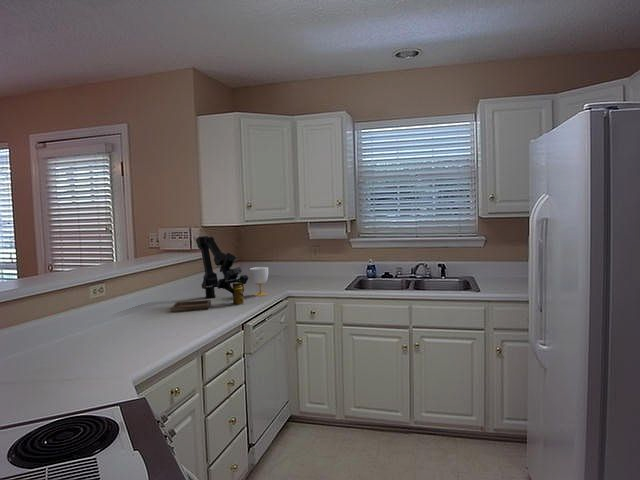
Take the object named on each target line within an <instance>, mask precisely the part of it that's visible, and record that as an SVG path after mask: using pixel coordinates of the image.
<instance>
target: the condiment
mask: <svg viewBox="0 0 640 480" xmlns="http://www.w3.org/2000/svg"><path fill="white" fill-rule="evenodd" d="M232 289H233V291H234V294H232V302H229V303H228V305H229V306H233V307H234V306H238V305H246V302H245V300H244V292H243V288H242V283H238V282H237V283H232Z"/></svg>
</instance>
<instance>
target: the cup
mask: <svg viewBox="0 0 640 480" xmlns="http://www.w3.org/2000/svg"><path fill="white" fill-rule="evenodd" d="M249 272H250V273H249V274H250V279H251V281H252V282H253V284H255V285H258V286H259V293H254V294H253V296H255V297H264V296H267V294H268V292H262V285H263V284H265V283H266V282H267V281H268V278H269V267H268V266H257V267H256V266H255V267H252V268H251V267H250V268H249Z"/></svg>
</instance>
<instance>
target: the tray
mask: <svg viewBox="0 0 640 480" xmlns="http://www.w3.org/2000/svg"><path fill="white" fill-rule="evenodd" d="M211 305H212V300H211V299H204V300H193V301H192V300H191V301H180V302H176V303H174V304H173V305H172V306H170V313H171V312H173V313H181V312H183V313H184V311H185V312H193V311H195V312H196V311H208V310H209V309H210V306H211Z"/></svg>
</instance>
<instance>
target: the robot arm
mask: <svg viewBox="0 0 640 480" xmlns="http://www.w3.org/2000/svg"><path fill="white" fill-rule="evenodd" d="M195 243H196V245H197V248H198V249H199V250H200V252H201V257H202V263H203V268H204V275H203V281H202V283H201V289H203V290H205V291H204V292H205V297H204V299H215V298H216V297H217V295H216V292H215V291H216V290H215V288H217V289H223V290H226V291H228V292H229V293H231V294H232V295H233V294H234V291H233V289H232V288H233V286H232V285H231V284H233V283H242V288H243V293H244V292H245V288H244V285H246V284H247V282H248V281H249V276H248V275H247V274H244V275H240V277H239V276H238V275H239V274H241V273H242V269H241V267H240V266H238V267H236V268H232V267H234V266H233V265H234V263H235V261H236V259H237V258H236V256H235V255H234V254H232V253H230V252H228V253H227V252H226V254H225V253H224V252H222V251H221V249H220V248H219V246H218V244H217V242H216V241H215V238H214V236H208V235H204V236H197V238H196V239H195ZM210 252H211V254H212V256H213V262H214V264H215V265H216V266H217V267H219V273H222V275H223V278H219V279H218V276H217V273H216V272H214V269H213V265H212V259H211V254H210ZM238 277H239V278H238Z"/></svg>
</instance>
